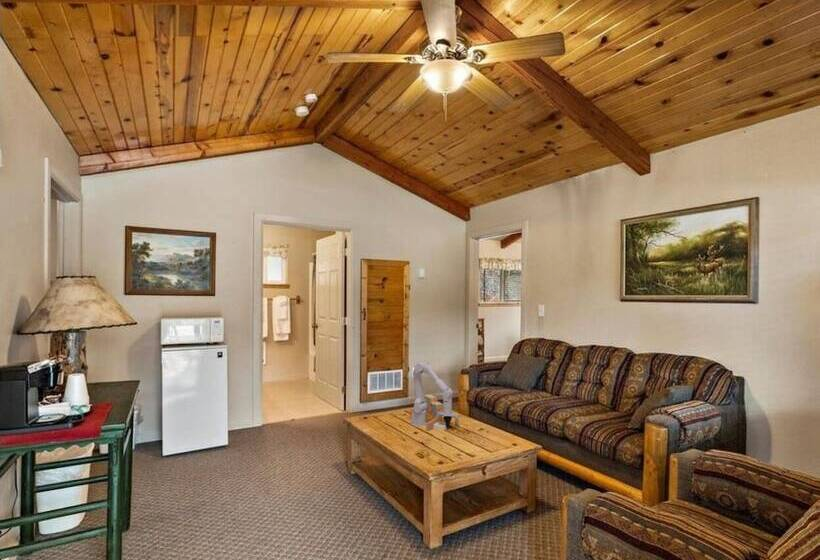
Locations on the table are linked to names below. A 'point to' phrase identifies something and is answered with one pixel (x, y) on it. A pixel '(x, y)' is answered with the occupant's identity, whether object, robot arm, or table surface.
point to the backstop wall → (433, 422)
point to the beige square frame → (440, 426)
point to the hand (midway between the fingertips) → (447, 427)
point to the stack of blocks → (433, 405)
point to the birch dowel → (457, 422)
